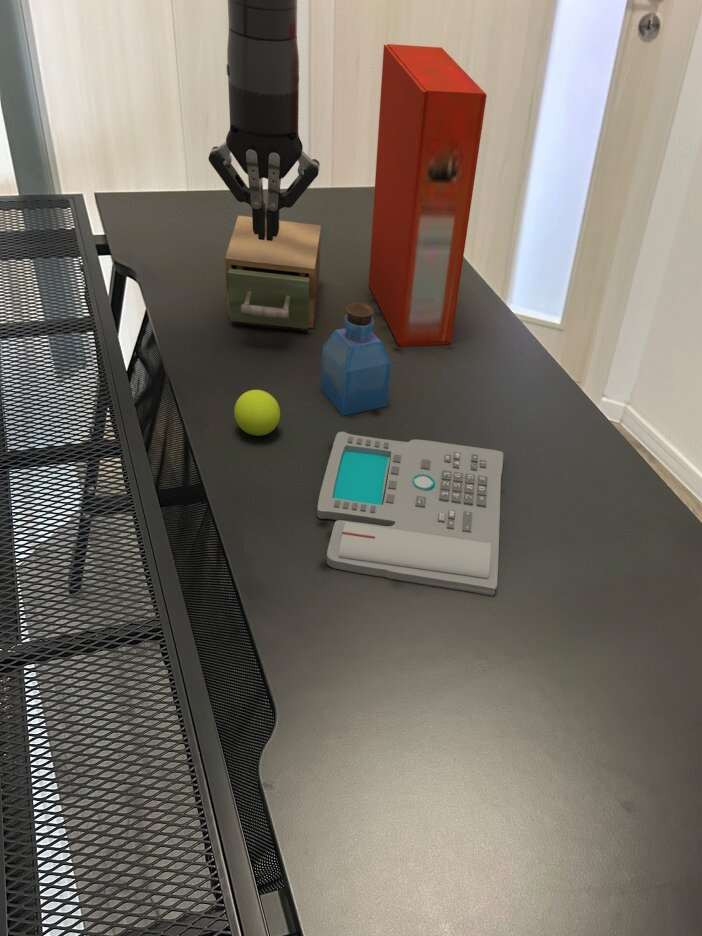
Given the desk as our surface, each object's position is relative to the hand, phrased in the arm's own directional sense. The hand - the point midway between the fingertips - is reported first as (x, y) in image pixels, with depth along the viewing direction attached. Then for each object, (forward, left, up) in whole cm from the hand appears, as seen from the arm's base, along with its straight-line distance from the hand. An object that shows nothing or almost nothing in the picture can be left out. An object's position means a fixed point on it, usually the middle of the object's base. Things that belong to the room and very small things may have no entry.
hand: (265, 237), depth 105 cm
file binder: (+19, +11, -14) cm, 26 cm away
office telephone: (+19, -33, -14) cm, 40 cm away
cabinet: (0, +11, -14) cm, 18 cm away
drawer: (0, +6, -13) cm, 14 cm away
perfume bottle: (+12, -12, -14) cm, 22 cm away
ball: (+1, -21, -14) cm, 25 cm away
